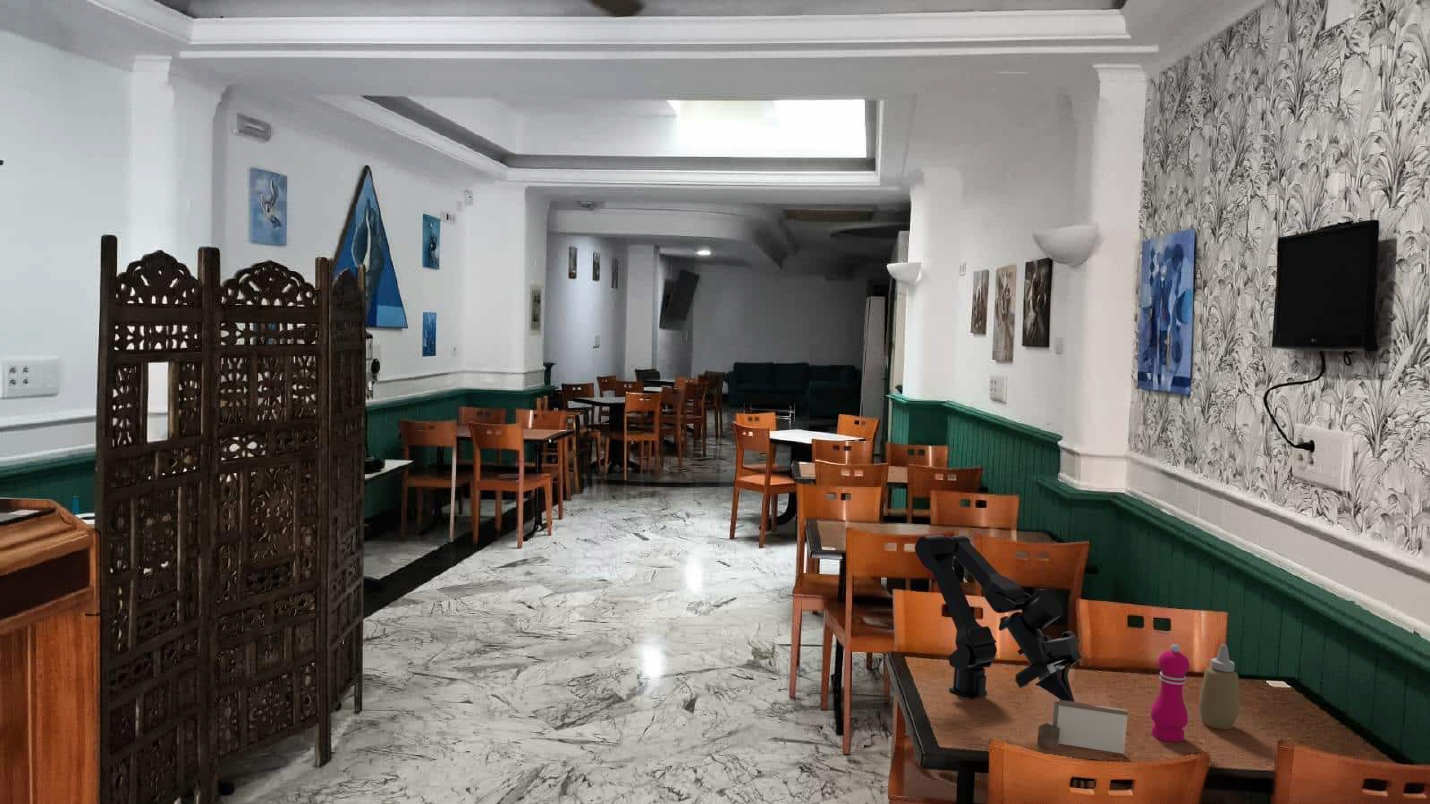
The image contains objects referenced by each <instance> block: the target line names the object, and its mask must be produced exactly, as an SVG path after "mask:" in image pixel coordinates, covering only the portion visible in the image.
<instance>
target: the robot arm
mask: <svg viewBox="0 0 1430 804" xmlns="http://www.w3.org/2000/svg"><path fill="white" fill-rule="evenodd" d="M914 550H915V554H916V556H917V557H918V560H919V561H920V563H921V564H922V566H923V567H924V568H926V569H927V570H928V571H929V572H930V573H931V574H932V575H933V577H934V580H935V581H936V584H937V586H938V589H939V591H940V594H941V596H942V599H943V600H944V603H945V605H946V607H947V610H948V612H949V614H950V617H951V619H952V622H953V624H954V627H955V629H956V634H955V641H954V642H955V643H954V644H955V647H956V650H955V651H953V652H952V653H951V654H950V655H948V665H949V666H950V667H952V668H953V669H954V670H953V681H952V683H953V685H952V687H949V688H948V690H949V692H952V693H955V694H958V695H960V696H963V697H965V698H968V699H971V700H974V699H976V698H979V697H981V696H984V695H986V694H988V690H986V687H987V686H986V684H987V676H986V668H990V667H991V666H992V663H993V660H995V658H996V655H997V652H998V650H997V649H998V648H997V646H996V643H997V640H996V639H995V637H994V636H993V633H992V630H991V628H990V626H988V625H987V626H982V625H981V624H979V622H978V621H977V619H976V617H975V615H974V611H972V608H971V606H970V603H969V601H968V599H967V596H966V594H965V591H964V590H963V587H962V585H961V583H960V580H959V578H958V576H957V573H956V571H955V569H954V566H953V565H954V558H955V559H956V560H957V561H958V562H959V563H960V565H961V566H962V567H963V569H965V570H966V571H967V573H969V575H970V576H972V578H973V579H974V580H975V581H976V582H977V584H978V585H980V586H981V589H982V590H983V597H984V599H985V601H986V602H987V603H988V604H989V606H990V608H991V609H992V610H993V611H994V612H995V613H997V614H1004V613H1005V614H1006V613H1012V612H1013V613H1012V614H1010V615H1009V616H1008V615H1005V616H1003V617H1000V618H999V620H1000V622H999V625H998V631H1003V630H1008V631H1009V633H1010V635H1011V636H1012V638H1013V639H1014V641H1015V643H1016V644H1017V646H1018V647H1019V649H1018V650H1017V653H1018V654H1019V656H1021V655H1024V656H1025V658H1026V660H1027V661H1028V663H1029V664H1030V665H1028V666H1026V667H1025V668H1024V669H1022V670H1021V671H1019V672H1018V673H1016V674H1015V677H1014V682H1015V683H1016V684H1017V686H1018V688H1019V689H1022V688H1025V687H1027V686H1029V684H1030V683H1031V682H1032V681H1034V680H1036V679H1038V682H1036V683H1035V686H1036V687H1038V686H1039V687H1040V688H1041V689H1044V690H1045V691H1047V692H1049V693H1050V694H1051V695H1053V696H1054V697H1056V698H1057V699H1059V700H1065V701H1072V702H1076V701H1075V698H1074V696H1073V691H1072V688H1071V685H1070V680H1069V671H1070V669H1071V668H1072V666H1073V665H1074V664H1076V663H1077V662H1079V661H1081V660H1082V659H1083V657H1082V655H1081V654H1080V652H1079V651H1080V650H1079V647H1078V645H1079V643H1080V639H1079V638H1078V637H1077V635H1076V634H1075V633H1074V632H1073V631H1072V630H1070V631H1065V632H1062V633H1061V637H1060V638H1059V637H1058V638H1056V639H1052V637H1051V635H1050V634H1043V633H1042V631H1041V630H1043V629H1045V628H1046V627H1047V626H1049V625H1050V624H1051V623H1053V622H1054V621H1056V620H1057V619H1059V618H1060V617H1061V616H1062V615H1063V612H1064V607H1063V605H1062V603H1061V602H1060V600H1058V599H1057V598H1056V597H1055V596H1054V595H1052V594H1050V593H1049V592H1048V591H1047V590H1046V589H1044V588H1042V589H1037V590H1036V591H1035V592H1034V593H1033V595H1031V594H1029V593H1027V592H1026V591H1025V590H1024V588H1023V587H1021V586H1020V585H1019V584H1017V583H1016V582H1015V581H1013V580H1012V579H1010V578H1008V577H1005V576H1004V575H1002V574H1001V573H999V571H998V570H996V568H995V567H994V566H992V565H991V563H989V561H988V560H987V559H986V558H985V557H984V556H983V555H982V554H981V552H979V550H978V549H977V548H976V547H975V546H974V545H973V544H972V543H971V540H970V539H969V537H967V536H965V535H955V536H954V535H953V536H949V537H948V536H945V535H943V534H937V535H935V534H934V535H926V536H920V537H919V538H917V541H916V543H915V546H914Z"/></svg>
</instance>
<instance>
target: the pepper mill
mask: <svg viewBox="0 0 1430 804" xmlns="http://www.w3.org/2000/svg"><path fill="white" fill-rule="evenodd" d="M1180 649H1181V648H1180V645H1178V644H1177V643H1176V644H1175V643H1173V644H1171V646H1170V650H1165V651H1163V652H1162V653H1161V654H1159V656H1158V660H1157V661H1158V663H1157V664H1158V667H1159V668H1160V670H1161V671H1160V672H1159V676H1158V677H1159V680H1160V682H1161V686H1160V690H1159V692H1158V695H1157V697H1156V699H1155V700H1154V702H1153V704H1152V705H1151V708H1150V709H1151V710H1150V717H1151V720H1152V721H1153V722H1154V723H1153V724H1152V725H1151V735H1152V736H1153V737H1155V738H1156V739H1159V740H1161V741H1165V742H1170V743H1181V742H1183V741H1184V739H1185V738H1184V737H1185V730H1184V729H1183V728H1185V726H1187V724H1188V722H1189V715H1188V710H1187V707H1186V705H1185V702H1184V697H1183V688H1184V687H1183V686H1184V685H1185V684H1186V678H1187V677H1186V674H1187V673H1188V672H1189V670H1190V660H1189V658H1188V657H1187V655H1185V654H1184V653H1182V652H1180Z"/></svg>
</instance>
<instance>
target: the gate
mask: <svg viewBox="0 0 1430 804" xmlns="http://www.w3.org/2000/svg"><path fill="white" fill-rule="evenodd" d="M1128 713H1129V711H1128V709H1126V708H1119V707H1111V706H1105V705H1098V704H1091V703H1086V702H1085V703H1084V702H1077V701H1075V702H1072V701H1065V700H1060V699H1059V700H1058V701H1056V700H1055V701H1054V704H1053V717H1052V725H1053V726H1056V727H1059V728H1060V730H1059V743H1058V745H1059V744H1060V745H1067V746H1073V747H1079V748H1085V749H1091V750H1097V751H1098V750H1099V751H1104V752H1112V753H1118V754H1125V749H1126V748H1125V747H1126V735H1127V724H1128V722H1127V721H1128Z"/></svg>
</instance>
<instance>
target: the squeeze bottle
mask: <svg viewBox="0 0 1430 804" xmlns="http://www.w3.org/2000/svg"><path fill="white" fill-rule="evenodd" d="M1209 665H1210V666H1209V667H1207V668H1206V669H1204V675H1203V678H1202V679H1203V680H1202V683H1201V684H1202V685H1201V689H1200V693H1199V698H1198V699H1199V700H1198V709H1199V713H1200V718H1201V720H1202V723H1203V724H1205V725H1206V726H1208V727H1211V728H1214V729H1219V730H1229V729H1232V728H1233V726H1234V724H1235V722H1236V721H1237V718H1238V717H1239V715H1240V696H1239V695H1240V689H1239V686H1240V685H1239V684H1240V683H1239V675H1238V673H1236V672H1235V667H1236V666H1235V665H1236V664H1235V662H1234V661H1232V660H1230V655H1229V649H1228V645H1227V644H1225V643H1224V644H1223V643H1222V644H1221V645H1220V648H1219V650H1218V653H1217V655H1216V657H1213V658H1211V659H1210V664H1209Z"/></svg>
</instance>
